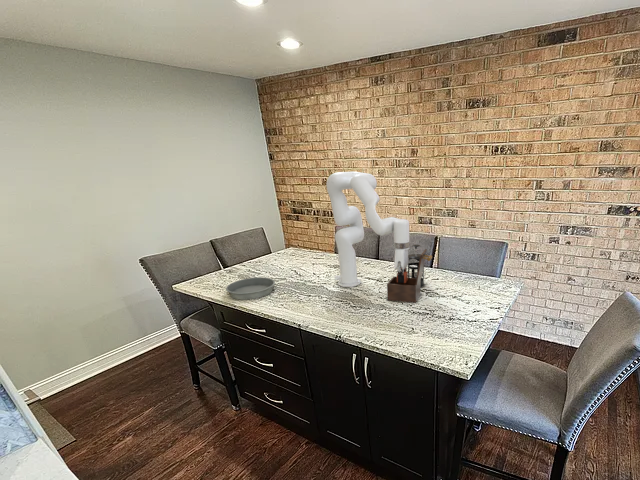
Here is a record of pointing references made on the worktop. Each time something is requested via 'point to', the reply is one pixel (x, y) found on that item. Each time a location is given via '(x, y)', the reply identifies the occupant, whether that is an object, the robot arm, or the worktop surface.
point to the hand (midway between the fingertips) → (402, 280)
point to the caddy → (403, 290)
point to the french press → (414, 274)
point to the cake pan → (250, 288)
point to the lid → (422, 265)
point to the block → (404, 276)
